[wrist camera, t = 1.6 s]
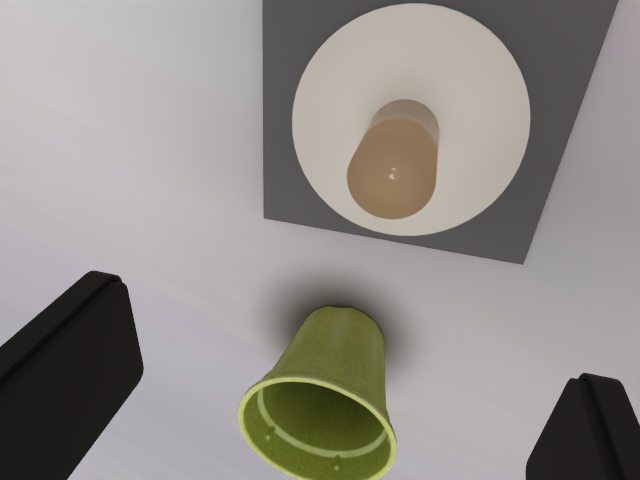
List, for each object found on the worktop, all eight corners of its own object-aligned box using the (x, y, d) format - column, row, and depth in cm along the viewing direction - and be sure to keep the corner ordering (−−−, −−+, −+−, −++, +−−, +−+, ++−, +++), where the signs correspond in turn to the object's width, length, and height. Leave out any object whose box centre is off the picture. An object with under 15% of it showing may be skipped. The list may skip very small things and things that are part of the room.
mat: (638, -64, 18) (641, -64, 18) (522, 260, 27) (523, 264, 27) (265, -85, 21) (261, -86, 21) (265, 215, 30) (263, 218, 29)
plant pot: (331, 259, 30) (293, 351, 23) (436, 341, 32) (432, 452, 24) (260, 331, 35) (210, 424, 28) (353, 399, 37) (329, 505, 29)
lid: (562, 14, 20) (608, 34, 14) (492, 243, 26) (503, 322, 21) (301, -8, 22) (247, 1, 16) (293, 209, 28) (253, 271, 23)
